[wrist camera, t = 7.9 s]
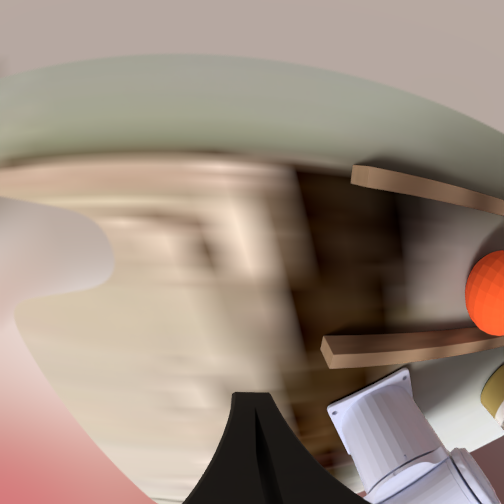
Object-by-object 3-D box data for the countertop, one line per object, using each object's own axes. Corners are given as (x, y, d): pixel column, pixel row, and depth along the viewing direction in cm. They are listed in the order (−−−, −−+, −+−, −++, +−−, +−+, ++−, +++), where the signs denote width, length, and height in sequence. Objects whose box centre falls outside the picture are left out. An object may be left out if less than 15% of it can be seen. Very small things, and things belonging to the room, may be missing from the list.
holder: (528, 209, 20) (546, 215, 18) (494, 333, 24) (508, 345, 22) (352, 164, 18) (369, 166, 16) (320, 349, 22) (329, 368, 20)
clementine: (458, 229, 20) (521, 256, 14) (506, 227, 21) (562, 249, 14) (442, 319, 23) (491, 362, 16) (491, 307, 23) (537, 340, 16)
